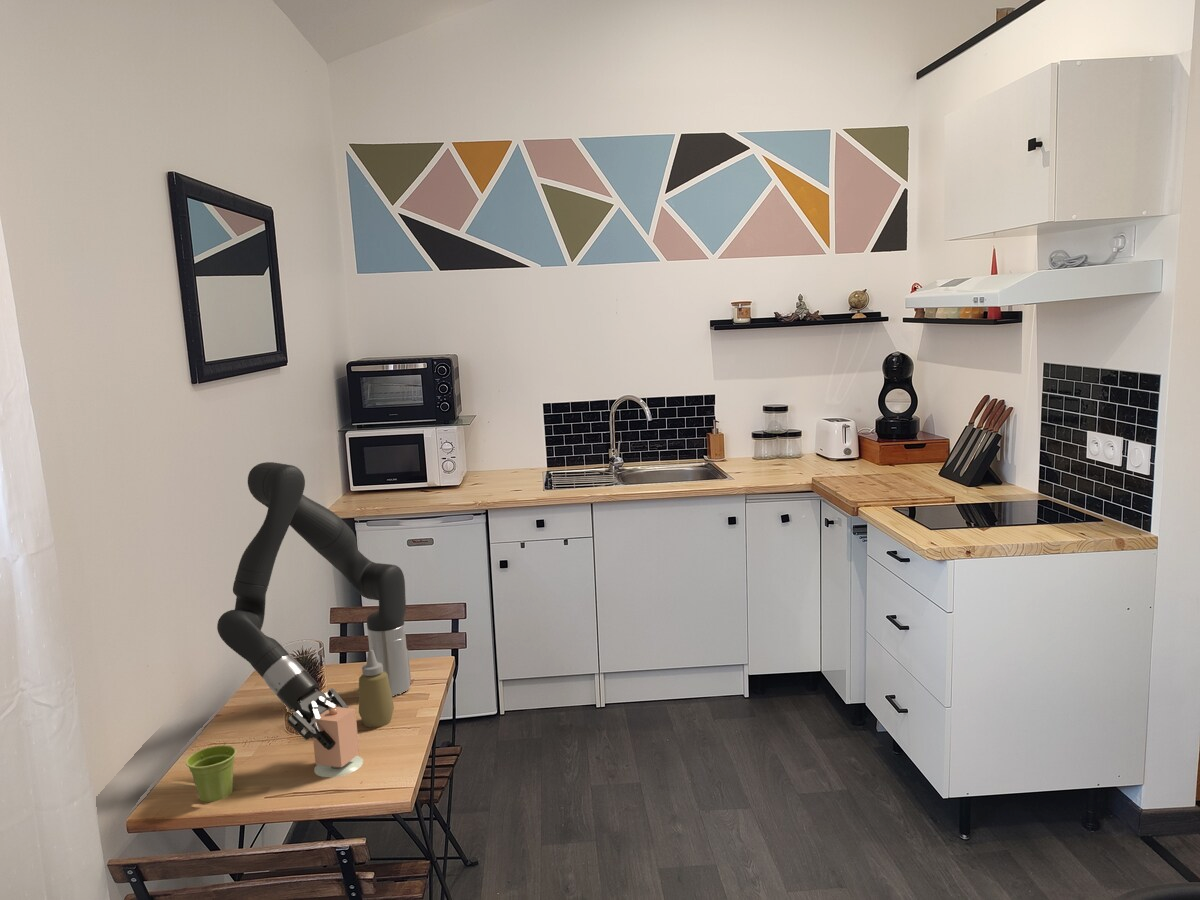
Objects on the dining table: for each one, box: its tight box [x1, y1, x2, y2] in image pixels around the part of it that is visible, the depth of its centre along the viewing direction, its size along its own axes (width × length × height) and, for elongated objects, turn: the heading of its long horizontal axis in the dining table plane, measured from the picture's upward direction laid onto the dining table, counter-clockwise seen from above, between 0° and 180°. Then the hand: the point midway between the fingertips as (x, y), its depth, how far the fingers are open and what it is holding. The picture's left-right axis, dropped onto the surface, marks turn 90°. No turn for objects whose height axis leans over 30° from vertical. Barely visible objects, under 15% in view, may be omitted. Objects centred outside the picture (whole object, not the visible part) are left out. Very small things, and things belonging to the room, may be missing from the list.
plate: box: [313, 755, 364, 778], centre depth 191 cm, size 10×10×1 cm
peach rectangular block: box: [311, 706, 360, 767], centre depth 190 cm, size 6×6×11 cm
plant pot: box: [185, 744, 237, 803], centre depth 182 cm, size 9×9×9 cm
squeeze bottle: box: [358, 650, 395, 729], centre depth 211 cm, size 8×8×18 cm
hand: (342, 739), depth 190 cm, fingers closed on peach rectangular block, 6 cm apart
